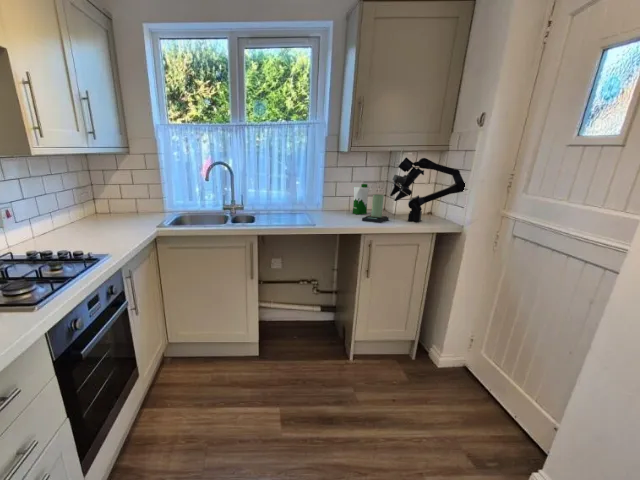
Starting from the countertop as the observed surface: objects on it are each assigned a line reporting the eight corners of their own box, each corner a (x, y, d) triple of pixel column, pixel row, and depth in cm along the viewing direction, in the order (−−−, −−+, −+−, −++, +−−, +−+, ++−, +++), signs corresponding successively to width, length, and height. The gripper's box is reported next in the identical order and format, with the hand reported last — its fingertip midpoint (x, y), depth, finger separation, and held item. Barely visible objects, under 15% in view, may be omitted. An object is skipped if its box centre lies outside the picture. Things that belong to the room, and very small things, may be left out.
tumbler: (379, 215, 231) (381, 194, 226) (383, 216, 225) (385, 195, 221) (369, 215, 231) (371, 194, 226) (373, 217, 225) (375, 195, 220)
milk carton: (368, 214, 252) (371, 184, 245) (357, 215, 249) (359, 185, 242) (361, 212, 260) (363, 183, 253) (350, 213, 257) (352, 184, 250)
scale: (388, 220, 228) (388, 216, 227) (380, 222, 220) (380, 218, 219) (370, 218, 236) (371, 214, 235) (361, 220, 228) (362, 216, 227)
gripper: (396, 165, 222) (379, 186, 229) (406, 173, 206) (386, 196, 213) (409, 175, 225) (392, 196, 232) (420, 184, 209) (400, 206, 216)
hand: (392, 198), depth 223 cm, fingers open, 9 cm apart
